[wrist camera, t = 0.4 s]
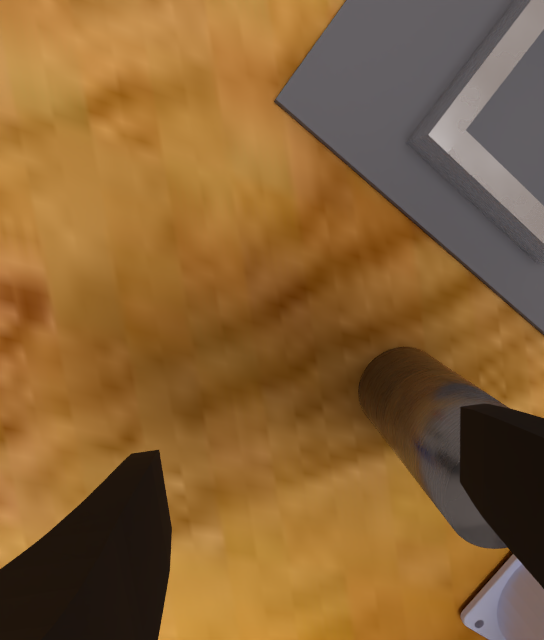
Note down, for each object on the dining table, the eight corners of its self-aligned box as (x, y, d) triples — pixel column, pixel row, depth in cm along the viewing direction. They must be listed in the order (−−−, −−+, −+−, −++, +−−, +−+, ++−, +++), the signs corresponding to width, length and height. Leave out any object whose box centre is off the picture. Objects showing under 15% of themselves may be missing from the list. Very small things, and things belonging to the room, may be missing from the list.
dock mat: (749, 149, 21) (758, 148, 21) (570, 358, 22) (576, 360, 22) (477, -183, 17) (484, -192, 16) (274, 101, 18) (275, 99, 17)
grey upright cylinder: (458, 378, 22) (597, 471, 14) (404, 443, 22) (509, 569, 14) (396, 330, 21) (508, 402, 13) (341, 399, 21) (417, 509, 13)
